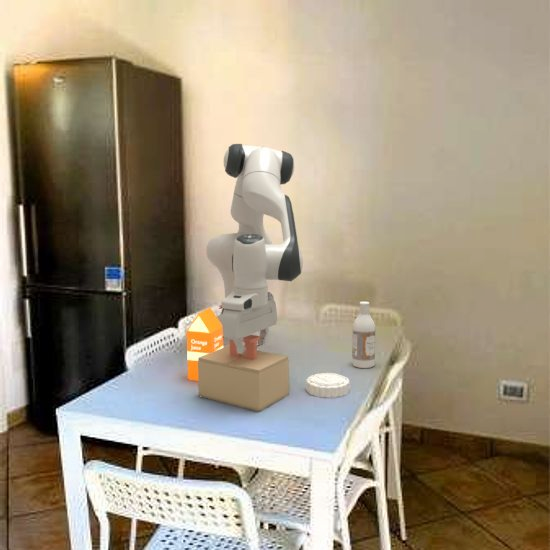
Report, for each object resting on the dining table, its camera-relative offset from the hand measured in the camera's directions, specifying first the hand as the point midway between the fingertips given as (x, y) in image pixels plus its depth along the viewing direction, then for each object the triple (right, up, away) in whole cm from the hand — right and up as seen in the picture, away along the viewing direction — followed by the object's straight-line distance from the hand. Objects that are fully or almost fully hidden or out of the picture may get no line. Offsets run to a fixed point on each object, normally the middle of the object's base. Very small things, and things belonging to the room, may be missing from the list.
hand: (251, 348), depth 162 cm
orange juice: (-14, -11, +20) cm, 27 cm away
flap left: (-7, -3, +5) cm, 9 cm away
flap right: (+2, -4, -1) cm, 4 cm away
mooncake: (+21, -13, +8) cm, 26 cm away
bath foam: (+34, -9, +29) cm, 45 cm away
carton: (-2, -13, +4) cm, 14 cm away
